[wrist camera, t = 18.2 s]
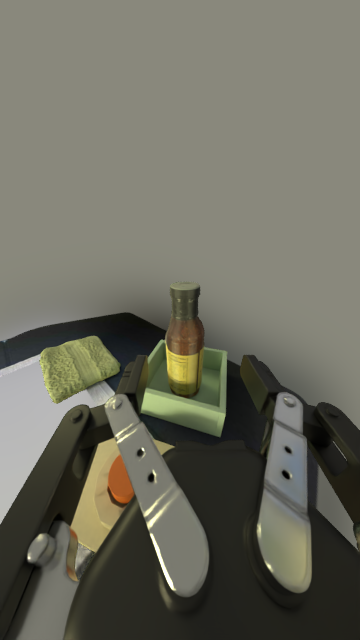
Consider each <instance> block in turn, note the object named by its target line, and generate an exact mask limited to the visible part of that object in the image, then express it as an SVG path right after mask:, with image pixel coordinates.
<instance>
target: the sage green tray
mask: <svg viewBox="0 0 360 640" xmlns="http://www.w3.org/2000/svg"><path fill="white" fill-rule="evenodd" d="M148 368H149V375H148V380H147V385H146V390H145V394H144V399H143V404H142V408H141V413H143V414H146V415H150V416H153V417H156V418H159V419H163V420H166V421H169V422H172V423H175V424H179V425H182V426H185V427H188V428H192V429H195V430H198V431H201V432H204V433H208V434H211V435H214V436H217V437H221V432H222V428H223V424H224V420H225V416H226V378H227V351H222V350H217V349H211V348H206V347H204V353H203V367H202V382H201V385H200V390H199V392H198V393H197V394H196V395H195V396H193V397H191V398H183V397H179V396H176V395H174V394H173V393H172V391H171V389H170V386H169V383H168V370H167V355H166V342H165V340H160V342H159V343H158V345H157V346H156V347H155V349H154V350H153V352H152V353H151V354H150V356H149V357H148Z"/></svg>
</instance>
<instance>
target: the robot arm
mask: <svg viewBox="0 0 360 640" xmlns="http://www.w3.org/2000/svg"><path fill="white" fill-rule="evenodd" d="M148 375H149V368H148V359H147V355H138V356H137V358H136V361H135V362H130V363H129V364H128V365H127V366H126V368H125V370H124V373H123V375H122V378H121V380H120V383H119V385H118V388H117V390H116V392H115V395H114V396H112V397H111V398H110V399H109V400H108V401H107V402H106V403H105V404H103V405H100V406H97V407H94V408H89V406H87V405H78V406H75V407H73V408H72V409H71V410H69V411H68V412H67V413H66V414H65V416H64V417H63V419H62V421H61V423H60V424H59V426H58V428H57V429H56V431H55V433H54V434H53V436H52V438H51V439H50V441H49V443H48V445H47V446H46V448H45V450H44V451H43V453H42V455H41V457H40V458H39V460H38V462H37V463H36V465H35V467H34V468H33V470H32V472H31V473H30V475H29V477H28V478H27V480H26V482H25V484H24V486H23V487H22V489H21V490H20V492H19V494H18V495H17V497H16V499H15V501H14V502H13V504H12V506H11V508H10V509H9V511H8V513H7V514H6V516H5V518H4V519H3V521H2V523H1V524H0V640H360V430H359V429H358V428H357V427H356V426H355V425H354V424H353V423H352V422H351V421H350V419H349V418H348V417H347V416H346V415H345V414H344V413H343V412H342V411H341V410H339V409H338V408H337V407H335V406H333V405H331V404H329V403H325V402H321V403H318V405H317V406H316V407H315V406H311V405H307V404H303V403H301V402H300V401H299V400H298V399H297V398H296V397H295V396H293V395H291V394H289V393H286V391H285V390H284V389H283V387H282V386H281V385H280V383H279V382H278V380H277V379H276V378H275V376H274V375H273V374H272V372H271V371H270V369H269V368H268V367H267V366H266V365H265V364H264V363H263V362H261V361H258V360H257V358H256V357H255V356H254V355H244V356H243V359H242V363H241V367H240V375H241V377H242V379H243V381H244V384H245V386H246V388H247V390H248V392H249V394H250V396H251V398H252V400H253V402H254V404H255V406H256V409H257V411H258V413H259V415H266V416H267V421H266V425H265V429H264V434H263V438H262V443H261V447H260V450H259V452H257V451H256V450H254V449H252V448H250V447H247V446H246V445H245V442H244V440H226V441H223V442H220V443H218V444H215V445H212V446H209V445H206V444H202V443H199V442H195V441H176V447H173V448H171V449H169V450H167V451H166V452H164V453H163V454H162V455H161V454H160V452H159V450H158V448H157V446H156V445H155V443H154V441H153V439H152V437H151V435H150V434H149V432H148V430H147V428H146V426H145V425H144V423H143V422H142V421H140V420H139V418H138V416H140V413H141V408H142V404H143V399H144V394H145V390H146V385H147V380H148ZM113 438H115V441H116V444H117V447H118V449H119V452H120V455H121V458H122V460H123V463H124V466H125V469H126V472H127V475H128V478H129V480H130V483H131V486H132V489H133V492H134V495H133V497H132V498H131V500H130V501H129V503H128V504H127V506H126V508H125V509H124V511H123V512H122V514H121V515H120V517H119V518H118V520H117V521H116V523H115V524H114V526H113V527H112V529H111V530H110V532H109V533H108V535H107V536H106V538H105V539H104V541H103V542H102V544H101V545H100V547H99V548H98V550H97V551H96V553H95V554H94V556H93V558H92V559H91V561H90V562H89V564H88V566H87V567H86V569H85V571H84V573H83V575H82V577H81V579H80V581H78V579H77V577H76V573H75V558H76V553H77V548H78V537H77V534H76V532H75V531H74V530H73V529H72V528H71V525H72V522H73V519H74V516H75V513H76V510H77V507H78V504H79V501H80V498H81V495H82V492H83V489H84V486H85V483H86V480H87V477H88V474H89V471H90V468H91V465H92V462H93V459H94V456H95V453H96V450H97V447H98V444H99V443H102V442H105V441H107V440H110V439H113ZM333 441H334V442H335V443H336V445H337V446H338V447H339V449H340V450H341V452H342V453H343V454H344V456H345V457H346V459H347V461H346V459H345V458H344V457H343V455H342V454H341V453H340V451H339V450H338V448H337V447H336V446H335V444H334V443H333ZM307 445H308V447H309V449H310V450H311V452H312V454H313V456H314V457H315V459H316V461H317V462H318V464H319V466H320V467H321V469H322V471H323V472H324V474H325V476H326V477H327V479H328V481H329V483H330V484H331V485H332V488H333V489H334V491H335V493H336V494H337V496H338V498H339V499H340V501H341V503H342V504H343V506H344V508H345V510H346V511H347V513H348V514H349V516H350V518H351V520H352V521H353V523H354V525H353V531H354V535H355V538H356V540H357V548H358V550H359V551H358V550H357V549H356V548H355V547H354V546H353V545H352V544H351V543H350V542H349V541H348V540H347V539H346V538H345V537H344V536H343V535H342V534H341V533H340V532H339V531H338V530H337V529H336V528H335V527H334V526H333V525H332V524H331V523H330V522H329V521H328V520H327V519H326V518H325V517H324V516H323V515H322V514H321V513H320V512H319V511H318V510H317V509H316V508H315V507H314V506H313V505H312V504H311V503H310V502H309V501H308V500H307Z"/></svg>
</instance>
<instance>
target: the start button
mask: <svg viewBox="0 0 360 640" xmlns="http://www.w3.org/2000/svg"><path fill="white" fill-rule="evenodd" d="M108 485H109V488H110V490H111V492H112V495H113V497H114V498H115V500H116V501H118V502H119V503H123V504H125V503H129V501H130V500H131V498H132V497H133V495H134V492H133V489H132V486H131V483H130V480H129V478H128V475H127V472H126V469H125V466H124V463H123V460H122V458H121V455H120V454H119V455H118V456H117V458H116V459H115V460H114V462H113V463H112V465H111V468H110V471H109V475H108Z"/></svg>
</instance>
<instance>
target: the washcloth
mask: <svg viewBox="0 0 360 640" xmlns="http://www.w3.org/2000/svg"><path fill="white" fill-rule="evenodd" d="M39 361H40V365H41V368H42V371H43V376H44V380H45V381H44V382H45V386H46V387H47V390H48V392H49V394H50V397H51V399H52V400H53V402H54V403H57V404H58V403H60V402H62V401H63V400H65V399H67V398H68V397H71V396H72V395H74V394H77V393H78V392H80V391H83V390H85V389H86V388H87V387H88V386H91V385H93V384H95V383H96V382H98V381H103V380H105V379H106V378H108V377H110V376H113V375H116V374H117V373H118V372H119V371H120V369H119V367H120V363H118V361H117V360H116V359H115V358H114V357H113V356H112V354H111V353H110V352H109V351H108V350H107V348H106V347H105V346H104V345H103V343H102V341H101V340H100V339H99V338H98V337H97V336H90V337H87V338H83V339H80V340H74V341H70V342H66V343H64V344H62V345H60V346H57V347H53V348H46V349H45V350H43V352H41V359H40V360H39Z"/></svg>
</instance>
